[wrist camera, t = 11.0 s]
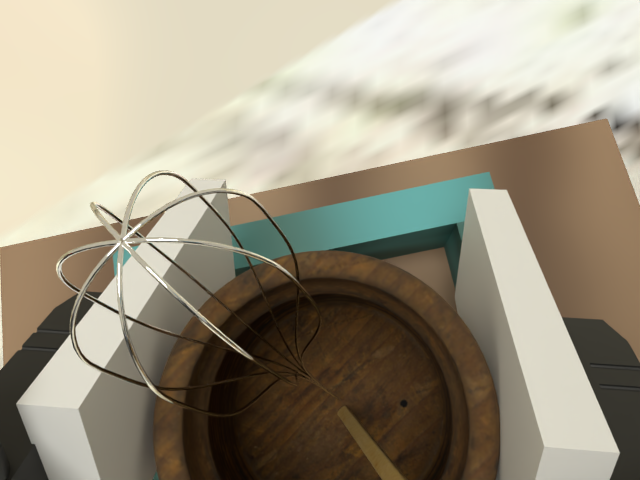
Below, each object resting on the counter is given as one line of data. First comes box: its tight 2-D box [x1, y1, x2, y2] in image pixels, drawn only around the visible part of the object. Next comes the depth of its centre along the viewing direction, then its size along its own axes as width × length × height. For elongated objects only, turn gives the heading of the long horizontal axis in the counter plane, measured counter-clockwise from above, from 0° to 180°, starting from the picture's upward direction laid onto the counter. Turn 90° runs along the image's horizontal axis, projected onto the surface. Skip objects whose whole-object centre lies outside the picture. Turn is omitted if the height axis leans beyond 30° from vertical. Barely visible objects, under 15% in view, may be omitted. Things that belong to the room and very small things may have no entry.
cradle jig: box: [0, 119, 640, 480], centre depth 15 cm, size 20×14×4 cm
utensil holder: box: [56, 170, 500, 480], centre depth 9 cm, size 6×6×12 cm
